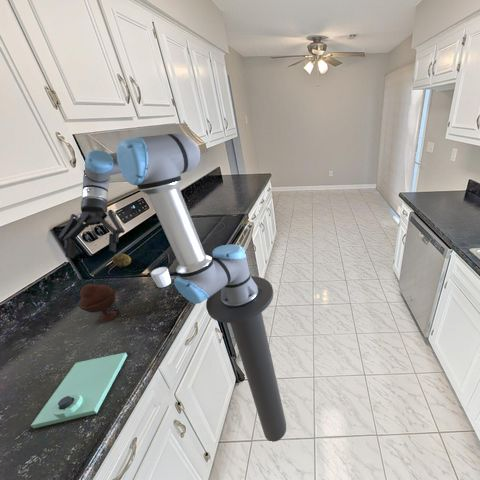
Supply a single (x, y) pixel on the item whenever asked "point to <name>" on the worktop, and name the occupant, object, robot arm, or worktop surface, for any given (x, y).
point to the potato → (121, 260)
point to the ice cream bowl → (98, 300)
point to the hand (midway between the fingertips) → (91, 254)
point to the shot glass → (161, 276)
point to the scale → (82, 390)
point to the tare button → (65, 402)
